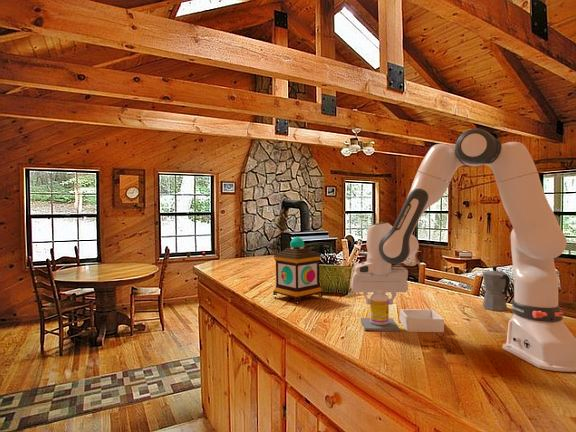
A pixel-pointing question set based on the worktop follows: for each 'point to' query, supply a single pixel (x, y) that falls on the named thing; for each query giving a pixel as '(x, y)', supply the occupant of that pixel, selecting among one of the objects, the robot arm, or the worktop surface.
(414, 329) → the bin
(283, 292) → the decorative lantern
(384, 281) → the robot arm
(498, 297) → the coffeepot
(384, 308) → the supplement bottle
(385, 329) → the mat
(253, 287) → the worktop surface
